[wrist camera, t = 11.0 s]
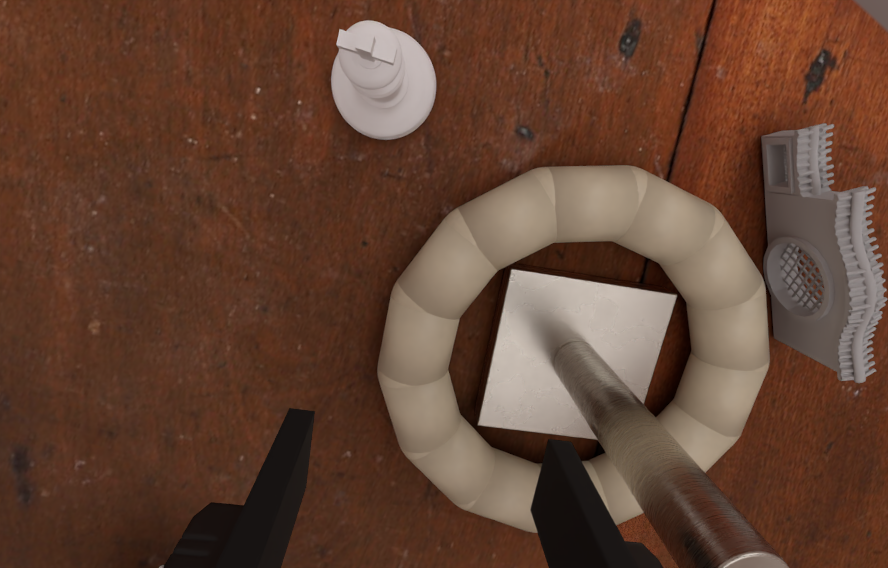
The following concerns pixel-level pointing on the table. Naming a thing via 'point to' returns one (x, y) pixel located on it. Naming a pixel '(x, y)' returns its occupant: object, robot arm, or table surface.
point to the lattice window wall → (819, 255)
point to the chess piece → (382, 80)
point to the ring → (526, 231)
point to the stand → (608, 401)
